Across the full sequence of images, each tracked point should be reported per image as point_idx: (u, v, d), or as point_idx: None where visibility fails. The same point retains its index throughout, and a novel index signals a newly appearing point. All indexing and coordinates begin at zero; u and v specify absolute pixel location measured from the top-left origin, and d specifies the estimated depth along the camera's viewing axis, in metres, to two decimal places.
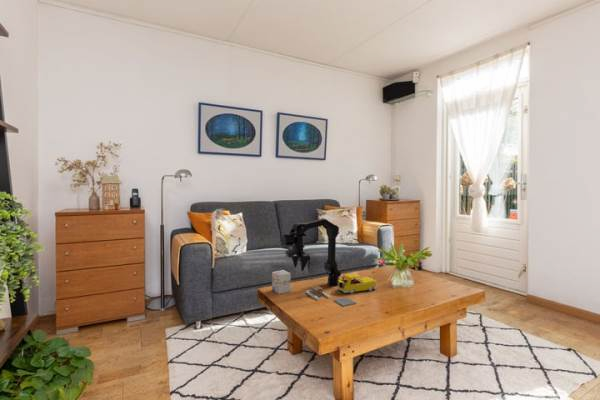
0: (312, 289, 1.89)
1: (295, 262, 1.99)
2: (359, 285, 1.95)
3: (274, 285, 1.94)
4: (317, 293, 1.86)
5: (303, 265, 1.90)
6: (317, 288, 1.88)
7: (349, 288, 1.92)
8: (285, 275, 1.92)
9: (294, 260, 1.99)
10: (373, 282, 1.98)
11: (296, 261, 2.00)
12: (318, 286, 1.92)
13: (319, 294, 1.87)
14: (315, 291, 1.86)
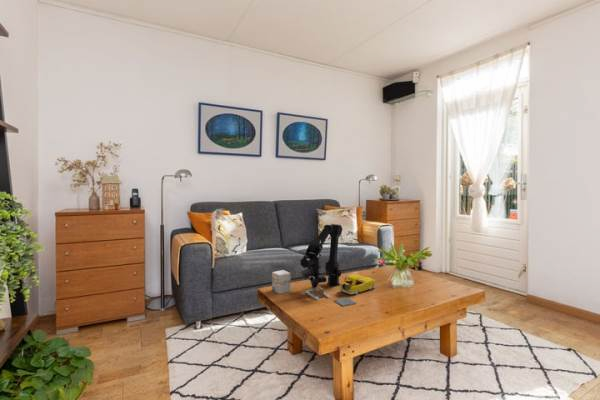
0: (313, 289, 1.88)
1: None
2: (362, 285, 1.94)
3: (274, 285, 1.94)
4: (318, 293, 1.85)
5: (315, 284, 1.91)
6: (318, 288, 1.87)
7: (354, 289, 1.90)
8: (285, 275, 1.92)
9: None
10: (373, 281, 2.00)
11: None
12: None
13: (320, 295, 1.85)
14: (316, 291, 1.85)
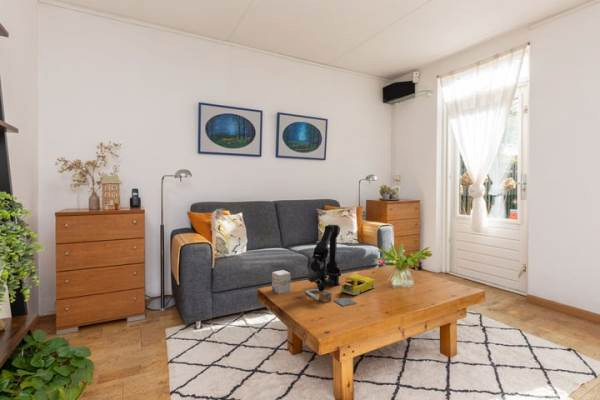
0: (320, 293, 1.82)
1: None
2: (363, 285, 1.94)
3: (274, 285, 1.94)
4: (325, 298, 1.78)
5: (322, 288, 1.84)
6: (325, 292, 1.80)
7: (357, 290, 1.89)
8: (285, 275, 1.92)
9: None
10: (373, 281, 2.01)
11: None
12: (326, 290, 1.84)
13: (327, 299, 1.79)
14: (323, 296, 1.79)
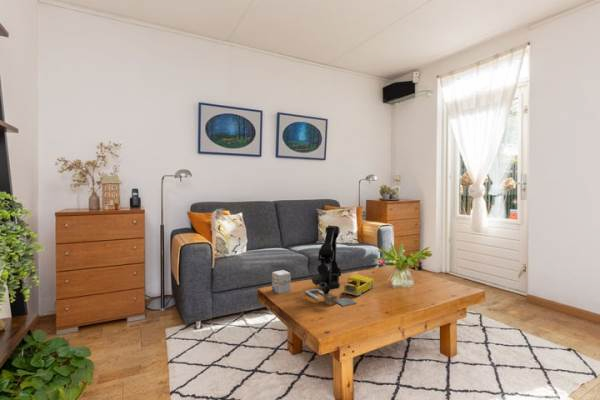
0: (325, 296, 1.77)
1: None
2: (365, 285, 1.94)
3: (274, 285, 1.94)
4: (330, 301, 1.74)
5: (327, 291, 1.80)
6: (330, 295, 1.76)
7: (359, 290, 1.88)
8: (285, 275, 1.92)
9: None
10: (372, 280, 2.02)
11: None
12: (331, 293, 1.79)
13: (332, 302, 1.74)
14: (328, 299, 1.74)
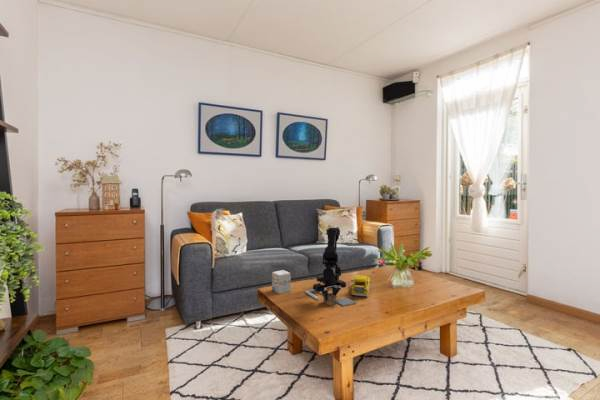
0: None
1: None
2: (368, 285, 1.95)
3: (274, 285, 1.94)
4: (330, 301, 1.74)
5: (324, 295, 1.75)
6: (330, 295, 1.76)
7: (368, 290, 1.88)
8: (285, 275, 1.92)
9: (332, 292, 1.79)
10: (369, 279, 2.05)
11: (334, 294, 1.78)
12: (331, 293, 1.79)
13: (332, 302, 1.74)
14: (328, 299, 1.74)
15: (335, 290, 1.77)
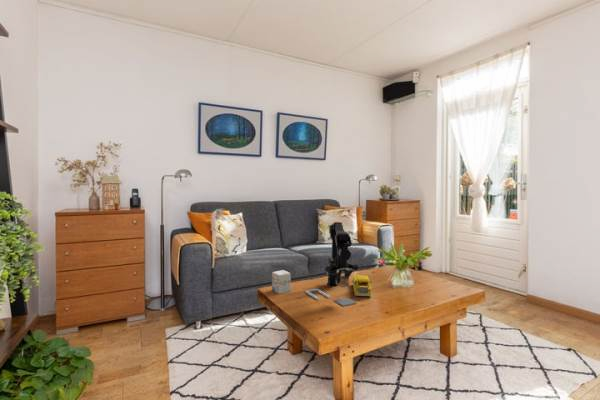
0: None
1: None
2: None
3: (274, 285, 1.94)
4: (342, 283, 1.74)
5: (336, 277, 1.76)
6: (342, 278, 1.76)
7: None
8: (285, 275, 1.92)
9: (345, 274, 1.79)
10: (368, 278, 2.05)
11: (346, 276, 1.78)
12: (343, 276, 1.79)
13: (345, 284, 1.74)
14: (340, 281, 1.74)
15: (347, 272, 1.77)
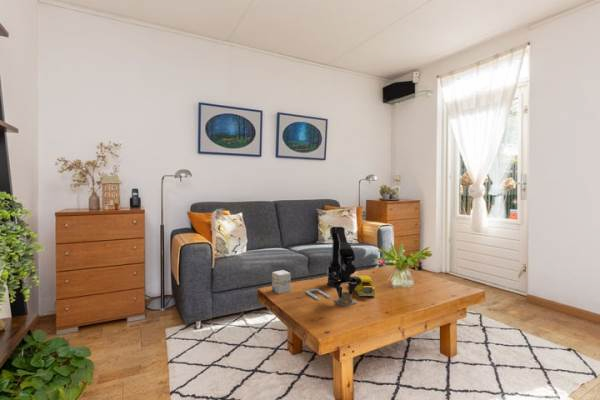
0: None
1: (350, 290, 1.80)
2: None
3: (274, 285, 1.94)
4: (346, 299, 1.74)
5: (338, 292, 1.76)
6: (346, 294, 1.76)
7: None
8: (285, 275, 1.92)
9: (349, 288, 1.80)
10: None
11: (351, 290, 1.79)
12: (346, 292, 1.80)
13: (348, 300, 1.75)
14: (344, 297, 1.75)
15: (352, 286, 1.78)
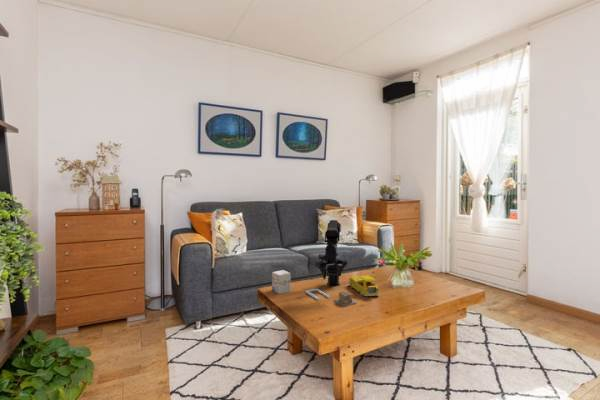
0: (340, 295, 1.78)
1: (338, 272, 1.85)
2: None
3: (274, 285, 1.94)
4: (346, 299, 1.74)
5: (323, 273, 1.80)
6: (346, 294, 1.76)
7: None
8: (285, 275, 1.92)
9: (337, 269, 1.85)
10: None
11: (338, 271, 1.84)
12: (346, 292, 1.80)
13: (348, 300, 1.75)
14: (344, 297, 1.75)
15: (340, 267, 1.83)
